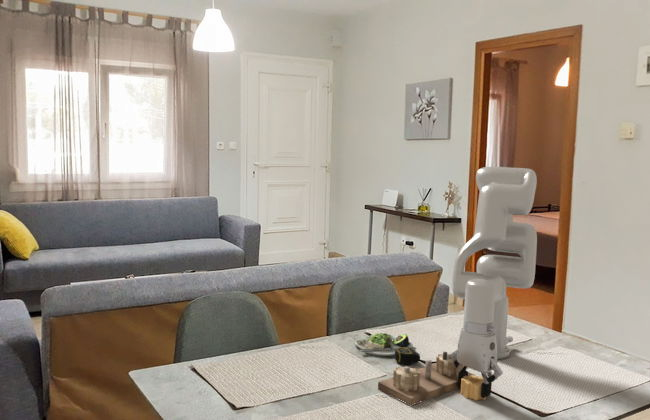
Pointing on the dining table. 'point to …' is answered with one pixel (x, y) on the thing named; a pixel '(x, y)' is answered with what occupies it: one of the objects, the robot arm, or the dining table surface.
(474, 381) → the ochre gear
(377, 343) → the salad plate
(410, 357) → the tape measure
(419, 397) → the gear board
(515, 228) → the robot arm
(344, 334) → the dining table surface
